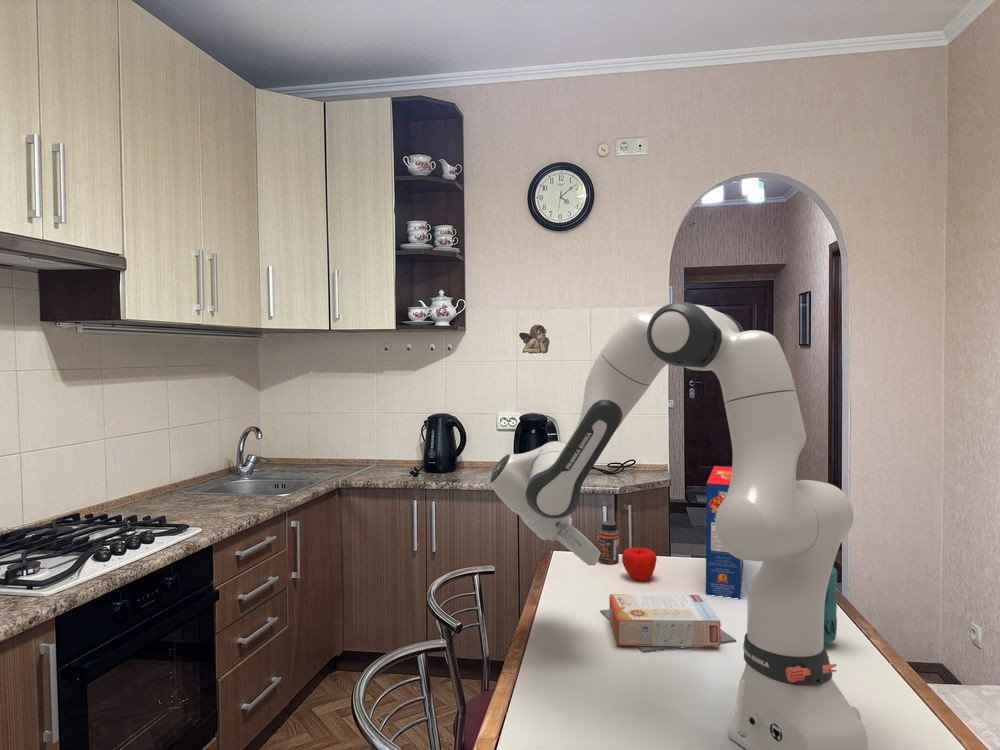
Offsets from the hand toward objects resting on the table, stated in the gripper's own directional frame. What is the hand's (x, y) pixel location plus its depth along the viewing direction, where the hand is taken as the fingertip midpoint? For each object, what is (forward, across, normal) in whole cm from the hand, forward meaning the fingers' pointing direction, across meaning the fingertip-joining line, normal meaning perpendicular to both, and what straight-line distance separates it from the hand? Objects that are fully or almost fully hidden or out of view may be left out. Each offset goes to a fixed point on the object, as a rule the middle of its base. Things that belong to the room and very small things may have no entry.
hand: (593, 561), depth 142 cm
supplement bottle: (+27, +46, -5) cm, 54 cm away
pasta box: (+44, +24, -22) cm, 55 cm away
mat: (+23, 0, -1) cm, 23 cm away
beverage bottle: (+41, -16, -19) cm, 48 cm away
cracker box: (+11, -1, +6) cm, 13 cm away
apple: (+29, +30, -6) cm, 42 cm away
